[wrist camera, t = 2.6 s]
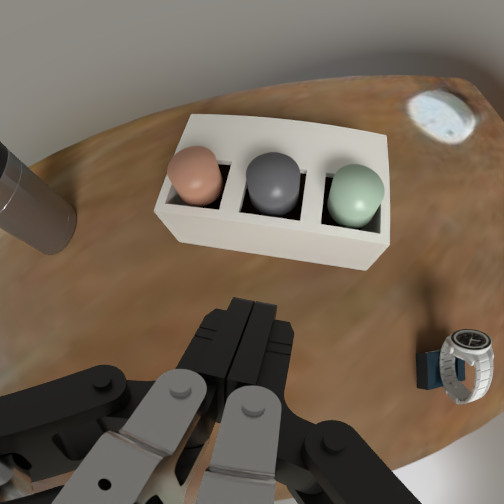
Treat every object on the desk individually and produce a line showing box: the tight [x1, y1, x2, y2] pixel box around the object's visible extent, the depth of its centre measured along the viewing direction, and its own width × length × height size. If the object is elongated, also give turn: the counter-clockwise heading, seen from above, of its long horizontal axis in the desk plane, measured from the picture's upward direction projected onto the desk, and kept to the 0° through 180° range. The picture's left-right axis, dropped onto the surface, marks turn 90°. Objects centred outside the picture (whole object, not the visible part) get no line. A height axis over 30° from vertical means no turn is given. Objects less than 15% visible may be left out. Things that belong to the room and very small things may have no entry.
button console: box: [154, 114, 390, 271], centre depth 35 cm, size 24×14×9 cm, turn 79°
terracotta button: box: [167, 146, 223, 207], centre depth 30 cm, size 5×5×4 cm
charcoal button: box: [246, 152, 300, 217], centre depth 29 cm, size 5×5×4 cm
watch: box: [416, 329, 494, 404], centre depth 25 cm, size 6×8×11 cm
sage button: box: [327, 164, 385, 229], centre depth 28 cm, size 5×5×4 cm
